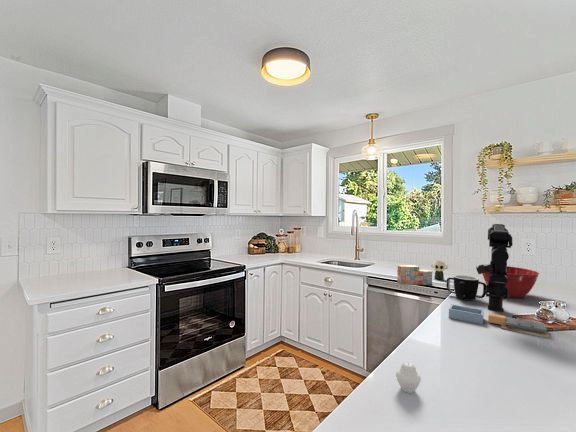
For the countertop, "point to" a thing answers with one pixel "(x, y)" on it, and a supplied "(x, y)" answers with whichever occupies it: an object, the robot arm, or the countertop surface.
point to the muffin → (408, 377)
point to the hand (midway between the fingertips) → (497, 294)
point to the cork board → (524, 331)
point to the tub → (466, 314)
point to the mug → (466, 287)
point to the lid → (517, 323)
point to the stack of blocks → (413, 275)
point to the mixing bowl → (517, 281)
